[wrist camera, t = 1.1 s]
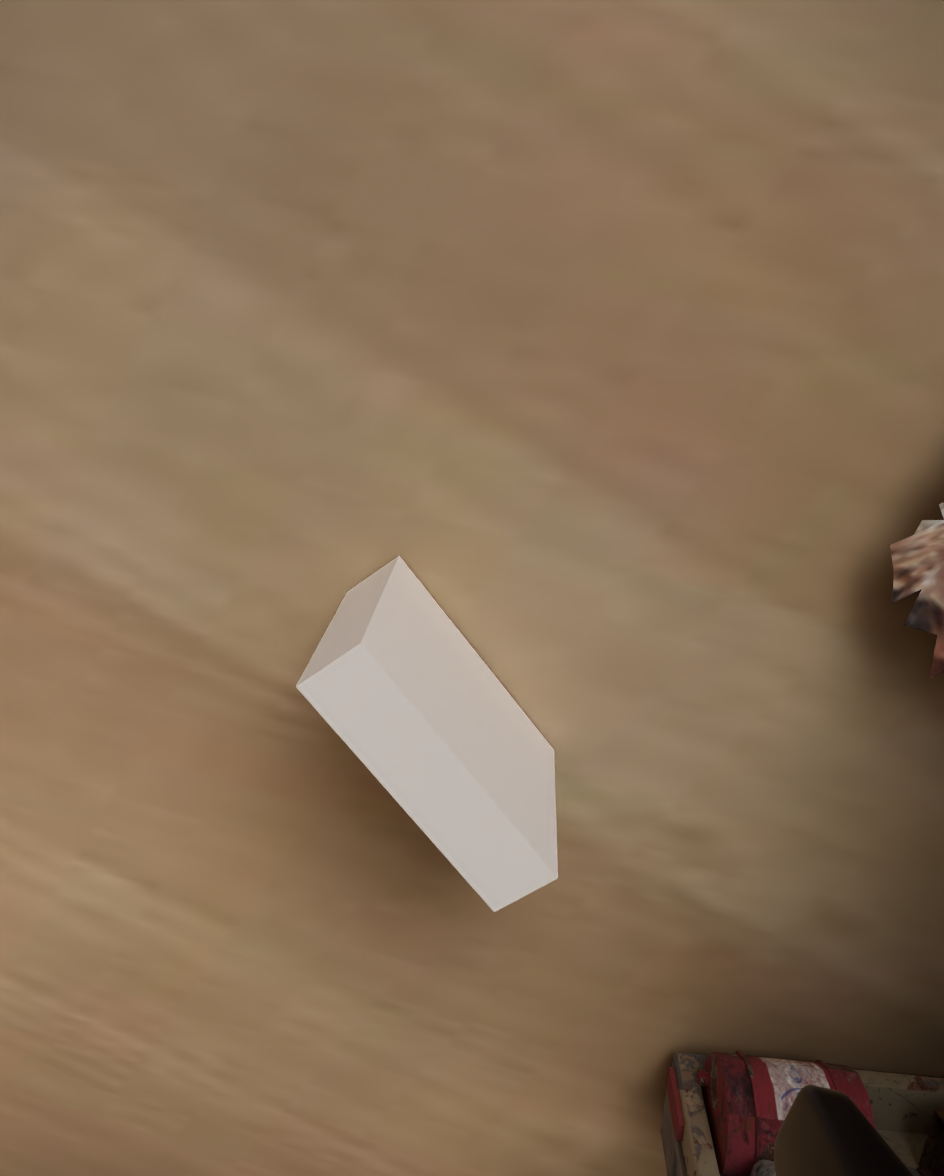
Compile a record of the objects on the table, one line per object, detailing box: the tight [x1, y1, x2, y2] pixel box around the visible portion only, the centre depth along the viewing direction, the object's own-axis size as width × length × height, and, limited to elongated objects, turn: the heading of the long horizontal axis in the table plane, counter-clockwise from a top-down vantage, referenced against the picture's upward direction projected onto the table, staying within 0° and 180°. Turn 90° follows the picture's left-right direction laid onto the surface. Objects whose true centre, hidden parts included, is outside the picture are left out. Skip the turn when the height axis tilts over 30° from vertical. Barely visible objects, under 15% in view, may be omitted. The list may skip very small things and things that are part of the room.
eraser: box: [296, 556, 558, 912], centre depth 15 cm, size 1×5×4 cm, turn 37°
